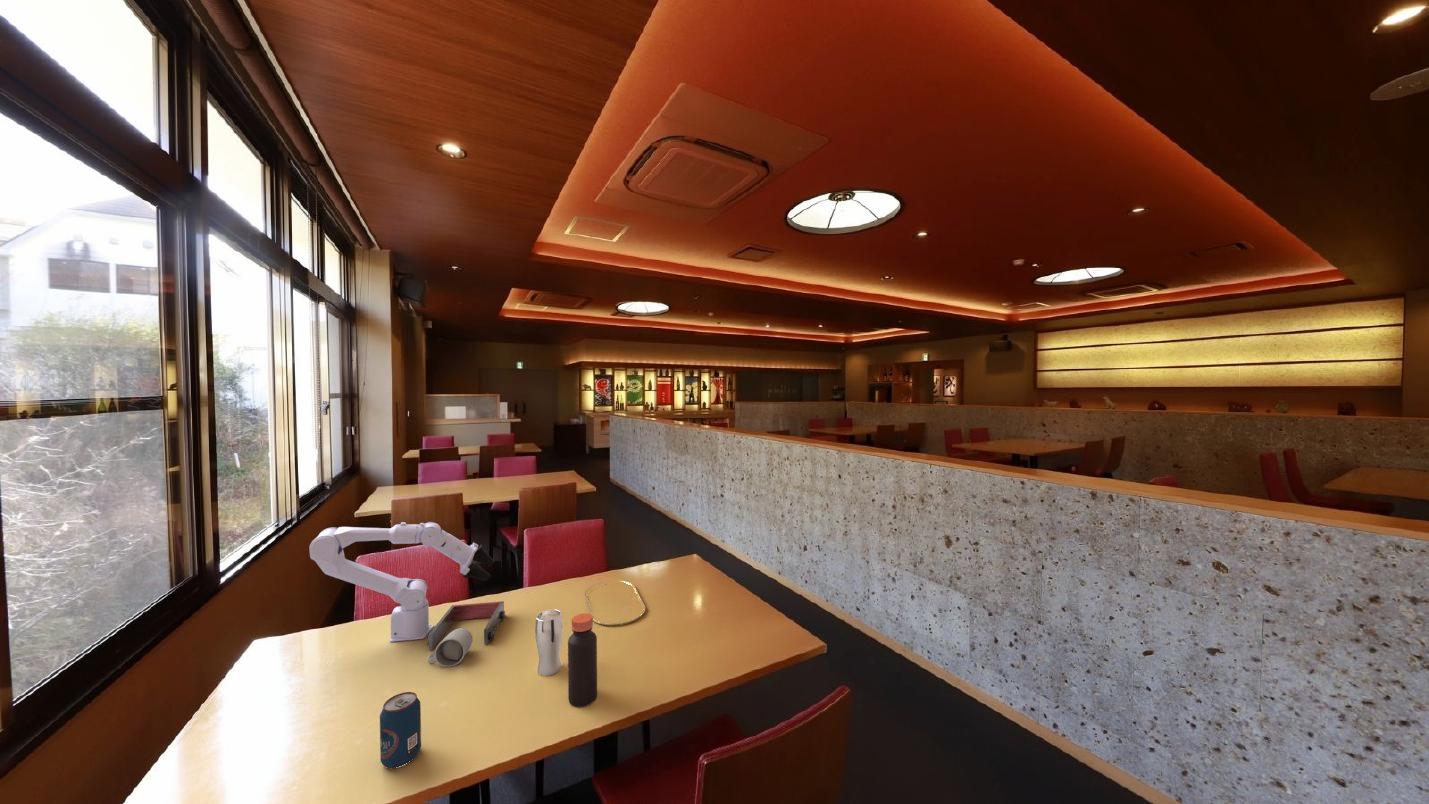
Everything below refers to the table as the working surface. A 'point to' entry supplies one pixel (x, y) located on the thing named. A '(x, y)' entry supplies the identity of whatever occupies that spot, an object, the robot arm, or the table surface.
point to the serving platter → (610, 581)
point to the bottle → (582, 662)
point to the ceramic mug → (452, 648)
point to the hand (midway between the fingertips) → (490, 571)
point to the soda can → (400, 729)
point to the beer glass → (549, 641)
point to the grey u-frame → (469, 612)
